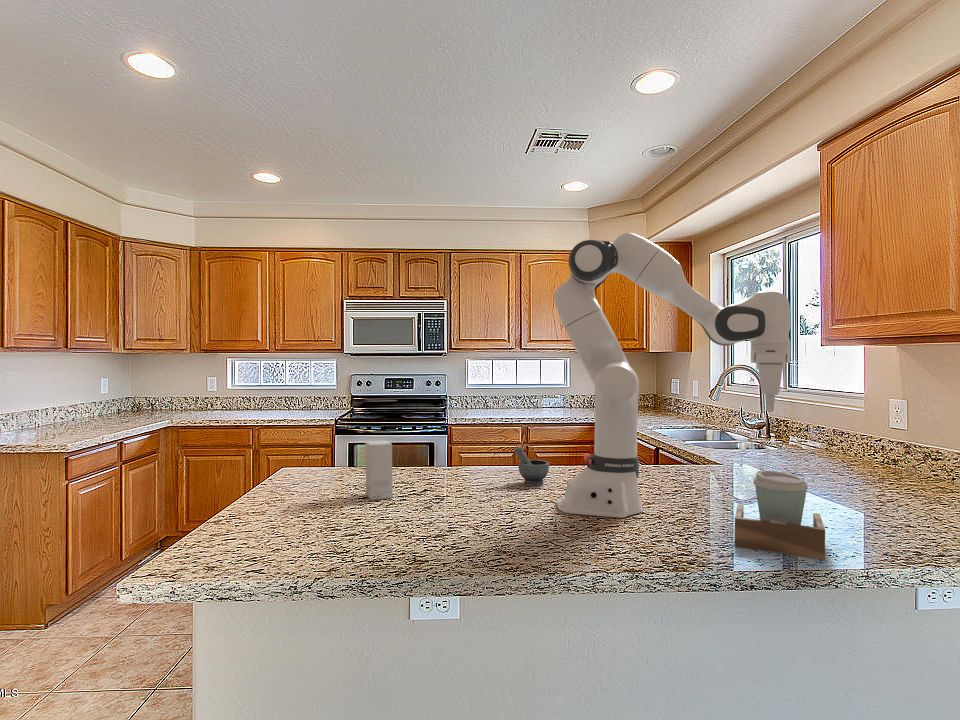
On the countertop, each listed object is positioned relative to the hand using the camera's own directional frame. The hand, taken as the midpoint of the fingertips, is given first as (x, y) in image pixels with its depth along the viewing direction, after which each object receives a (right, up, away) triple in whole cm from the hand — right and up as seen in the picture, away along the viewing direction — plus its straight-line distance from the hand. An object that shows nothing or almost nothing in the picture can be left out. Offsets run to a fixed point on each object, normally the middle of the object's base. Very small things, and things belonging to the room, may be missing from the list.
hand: (769, 411), depth 137 cm
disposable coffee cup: (-7, -27, -18) cm, 33 cm away
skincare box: (-102, -27, +20) cm, 107 cm away
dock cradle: (-8, -27, -18) cm, 33 cm away
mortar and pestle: (-56, -27, +37) cm, 72 cm away
